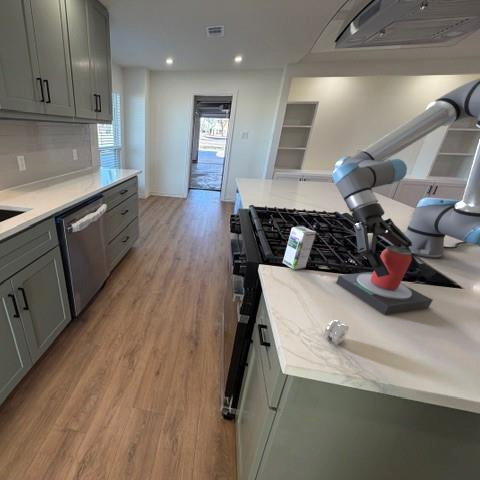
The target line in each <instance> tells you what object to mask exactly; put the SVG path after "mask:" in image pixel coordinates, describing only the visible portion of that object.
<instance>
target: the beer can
mask: <svg viewBox="0 0 480 480" xmlns="http://www.w3.org/2000/svg"><path fill="white" fill-rule="evenodd" d="M411 254H412V252H411V251H410V250H408V249H405V248H402V247H398V246H394V245H387V246H386V247H385V249H383V251H381V254H380V257H381V259H382V261H383V263H384V265H385V267H386V268H387V270H388V272H389V274H390V275H386V276H382V277H378V276H377V275H376V273H375V271H374V270H373V271H372V272H373V274H372V277H371V282H372V283H373V284H374V285H376V286H378V287H380V288H383V289H387V290H396V289H397V288H398V287H399V285H400V283H401V284H402V281H403V280H404V279H403V278H404V276H405V275H406V273H407V271H408V269H407V268H408V266H409V264H410V262H411V259H412V258H411Z"/></svg>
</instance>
